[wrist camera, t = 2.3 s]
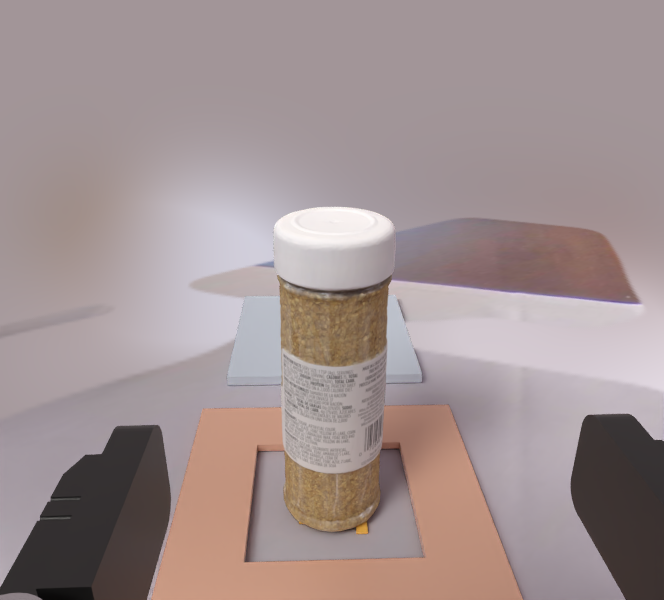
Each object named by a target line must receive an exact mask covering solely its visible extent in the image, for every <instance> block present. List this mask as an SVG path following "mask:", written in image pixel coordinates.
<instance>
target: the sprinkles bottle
mask: <svg viewBox="0 0 664 600" xmlns="http://www.w3.org/2000/svg"><path fill="white" fill-rule="evenodd" d="M273 234H274V236H273V238H274V267H275V271H276V273H277V274H278V275H277V277H278V280H279V282H280V305H281V308H280V314H281V334H280V337H281V351H282V352H281V362H282V365H281V368H282V376H281V378H282V382H281V406H282V437H283V445H284V454H285V477H286V482H285V484H284V489H283V492H284V501H285V503H286V506H287V508H288V510H289V511H290V513H291V514H292V515H293V517H294V518H295V519H296V520H298V521H299V522H301V523H303V524H305V525H307V526H309V527H311V528H314V529H317V530H321V531H329V532H337V531H343V530H346V529H351V528H354V527H356V526H358V525H360V524H362V523H364V522H366V521H367V520H368V519H369V518H370V517H371V516H372V515H373V513H374V512H375V510H376V508H377V507H378V505H379V502H380V487H379V463H380V461H379V458H380V450H381V447H382V438H383V419H384V403H385V387H386V365H387V344H388V341H387V338H386V336H387V318H388V317H387V306H388V285H389V284H390V282H391V280H392V275H391V274H392V273H393V271H394V264H395V227H394V225H393V223H392V222H391V221H390V220H389V219H388V218H386V217H384V216H383V215H380V214H378V213H375V212H372V211H368V210H363V209H357V208H348V207H321V208H311V209H305V210H300V211H296V212H293V213H290V214H288V215H285V216H284V217H282V218H281V219H279V220H278V221H277V223H276V224H275V226H274V231H273Z"/></svg>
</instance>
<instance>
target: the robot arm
mask: <svg viewBox="0 0 664 600" xmlns="http://www.w3.org/2000/svg"><path fill="white" fill-rule="evenodd" d="M571 495H572V500H573V504H574V507H575V510H576V512H577V514H578V516H579V518H580V519H581V521H582V523H583V525H584V526H585V528H586V530H587V532H588V533H589V535H590V537H591V539H592V541H593V542H594V544H595V546H596V548H597V549H598V551H599V553H600V555H601V556H602V558H603V560H604V562H605V563H606V565H607V567H608V569H609V570H610V572H611V574H612V576H613V578H614V579H615V581H616V583H617V585H618V586H619V588H620V590H621V592H622V593H623V595H624V597H625V599H626V600H664V441H662V440H654V439H653V438H652V437H651V436H650V435H649V433H648V432H647V431H646V430H645V429H644V428H643V427H642V425H641V424H640V423H639V422H638V421H637V420H636V418H635V417H633V416H632V415H630V414H602V415H588V416H586V417H585V419H584V421H583V423H582V427H581V432H580V437H579V442H578V447H577V452H576V457H575V462H574V467H573V472H572V477H571ZM170 506H171V493H170V485H169V478H168V471H167V464H166V457H165V450H164V444H163V437H162V432H161V429H160V427H159V426H158V425H141V426H117V427H116V428H115V429H114V431H113V433H112V435H111V437H110V439H109V441H108V443H107V445H106V447H105V449H104V451H103V453H102V454H96V455H85V456H84V457H83V458H82V459H80V460H79V461H78V462H77V463H76V464H75V465H74V466H72V467H71V468H70V469H69V470H68V471H67V472H66V473H64V474H63V476H62V478H61V480H60V481H59V483H58V485H57V487H56V489H55V490H54V492H53V494H52V496H51V501H50V502H48V503H47V505H46V506H45V508H44V510H43V512H42V514H41V515H40V521H37V523H36V524H35V526H34V528H33V530H32V532H31V533H30V535H29V537H28V539H27V541H26V542H25V544H24V546H23V548H22V550H21V551H20V553H19V555H18V557H17V558H16V560H15V562H14V564H13V566H12V567H11V569H10V571H9V573H8V575H7V576H6V578H5V580H4V582H3V584H2V585H1V587H0V600H147V596H148V593H149V589H150V586H151V582H152V579H153V575H154V572H155V568H156V565H157V561H158V558H159V554H160V551H161V547H162V544H163V540H164V537H165V533H166V530H167V526H168V522H169V516H170Z"/></svg>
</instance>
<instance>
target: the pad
mask: <svg viewBox="0 0 664 600" xmlns="http://www.w3.org/2000/svg"><path fill="white" fill-rule="evenodd" d="M280 308H281V305H280V296H245V299H244V303H243V307H242V312H241V316H240V321H239V325H238V330H237V334H236V338H235V343H234V347H233V352H232V356H231V361H230V365H229V369H228V374H227V385H281V382H282V378H281V376H282V368H281V365H282V362H281V352H282V351H281V337H280V334H281V314H280ZM387 317H388V318H387V336H386V338H387V341H388V344H387V365H386V383H418V382H422V372H421V369H420V366H419V363H418V360H417V357H416V354H415V351H414V348H413V345H412V342H411V340H410V336H409V334H408V330H407V328H406V325H405V322H404V319H403V316H402V313H401V310H400V307H399V304H398V301H397V298H396V295H388V306H387Z"/></svg>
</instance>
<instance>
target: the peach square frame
mask: <svg viewBox="0 0 664 600" xmlns="http://www.w3.org/2000/svg"><path fill="white" fill-rule="evenodd" d="M393 448H399V449H400V453H401V458H402V462H403V467H404V471H405V476H406V480H407V485H408V489H409V494H410V498H411V502H412V507H413V511H414V516H415V520H416V525H417V529H418V534H419V538H420V543H421V547H422V552H423V556H424V557H422V558H385V559H348V560H311V561H274V562H245V557H246V548H247V539H248V531H249V522H250V513H251V504H252V495H253V487H254V478H255V469H256V460H257V451H284V445H283V437H282V407H275V408H214V409H203V410H202V413H201V417H200V421H199V425H198V428H197V432H196V436H195V439H194V443H193V447H192V450H191V454H190V458H189V462H188V465H187V469H186V473H185V476H184V480H183V484H182V487H181V491H180V495H179V499H178V502H177V506H176V510H175V513H174V517H173V521H172V524H171V528H170V532H169V536H168V539H167V543H166V547H165V550H164V554H163V558H162V561H161V565H160V569H159V573H158V576H157V580H156V584H155V587H154V591H153V595H152V598H151V600H523V598H522V596H521V593H520V591H519V588H518V585H517V583H516V580H515V577H514V575H513V572H512V570H511V567H510V564H509V562H508V559H507V556H506V554H505V551H504V548H503V546H502V543H501V541H500V538H499V535H498V533H497V530H496V527H495V525H494V522H493V520H492V517H491V514H490V512H489V509H488V506H487V504H486V501H485V499H484V496H483V493H482V491H481V488H480V485H479V483H478V480H477V478H476V475H475V472H474V470H473V467H472V464H471V462H470V459H469V457H468V454H467V451H466V449H465V446H464V443H463V441H462V438H461V436H460V433H459V430H458V428H457V425H456V422H455V420H454V417H453V415H452V412H451V409H450V407H449V405H396V406H384V419H383V438H382V447H381V449H393ZM299 524H303V523H301V522H299ZM356 534H368V528H367V521H366V522H364V523H362V524H360V525H358V526H356Z"/></svg>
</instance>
